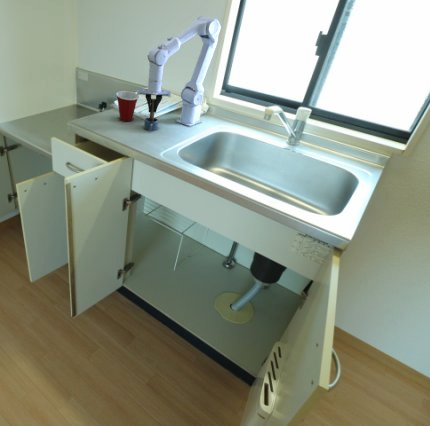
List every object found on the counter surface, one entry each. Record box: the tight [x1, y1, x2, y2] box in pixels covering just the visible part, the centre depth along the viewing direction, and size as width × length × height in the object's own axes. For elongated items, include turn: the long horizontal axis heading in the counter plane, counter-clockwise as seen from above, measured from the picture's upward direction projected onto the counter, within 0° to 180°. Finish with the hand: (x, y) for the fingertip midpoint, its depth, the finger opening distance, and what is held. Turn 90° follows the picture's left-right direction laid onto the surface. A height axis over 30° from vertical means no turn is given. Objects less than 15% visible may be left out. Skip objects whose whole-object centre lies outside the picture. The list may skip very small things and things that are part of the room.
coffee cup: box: [143, 116, 159, 132], centre depth 148 cm, size 9×6×4 cm
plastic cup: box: [115, 90, 140, 122], centre depth 154 cm, size 11×11×12 cm
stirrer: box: [149, 98, 156, 122], centre depth 146 cm, size 2×2×10 cm
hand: (152, 111), depth 146 cm, fingers closed on stirrer, 2 cm apart
